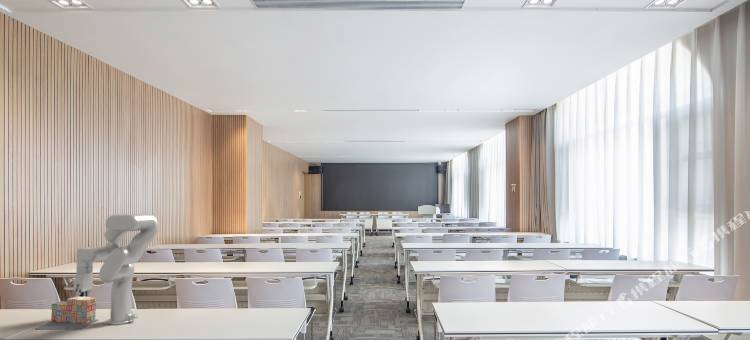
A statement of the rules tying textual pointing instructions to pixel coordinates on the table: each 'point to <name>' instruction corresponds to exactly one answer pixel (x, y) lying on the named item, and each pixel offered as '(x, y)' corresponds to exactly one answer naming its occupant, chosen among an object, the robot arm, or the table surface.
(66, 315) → the stack of blocks
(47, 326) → the mat
